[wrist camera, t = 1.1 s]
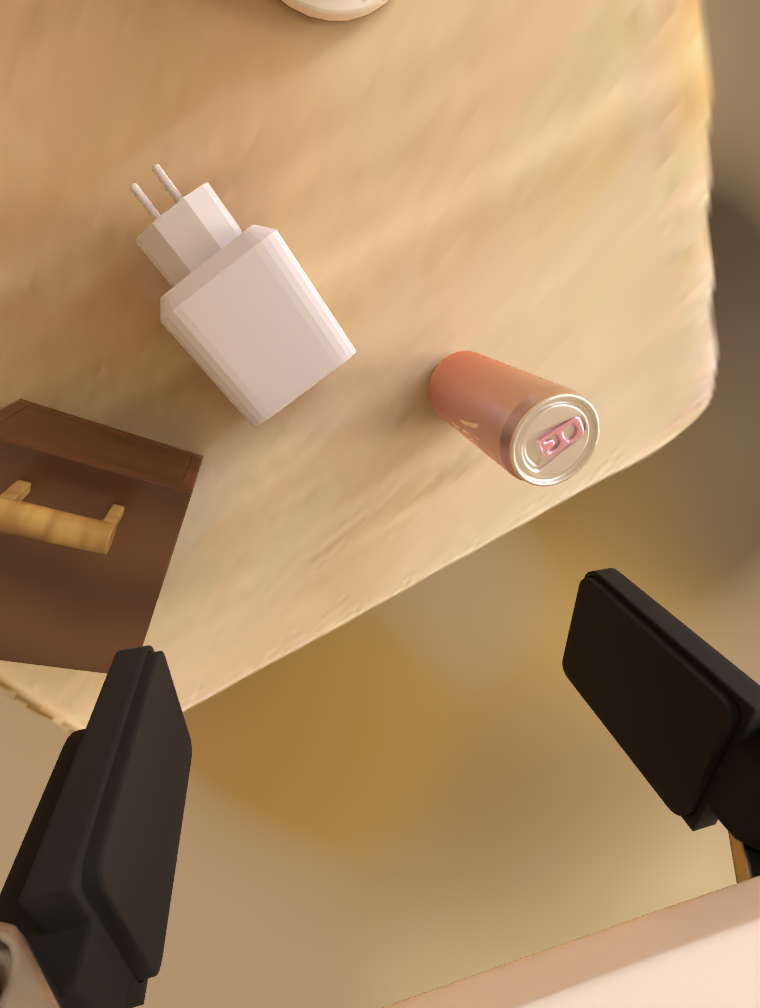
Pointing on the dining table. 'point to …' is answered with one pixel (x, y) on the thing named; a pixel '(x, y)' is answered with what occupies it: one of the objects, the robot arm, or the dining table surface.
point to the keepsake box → (98, 442)
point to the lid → (80, 555)
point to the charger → (239, 303)
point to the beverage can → (515, 417)
